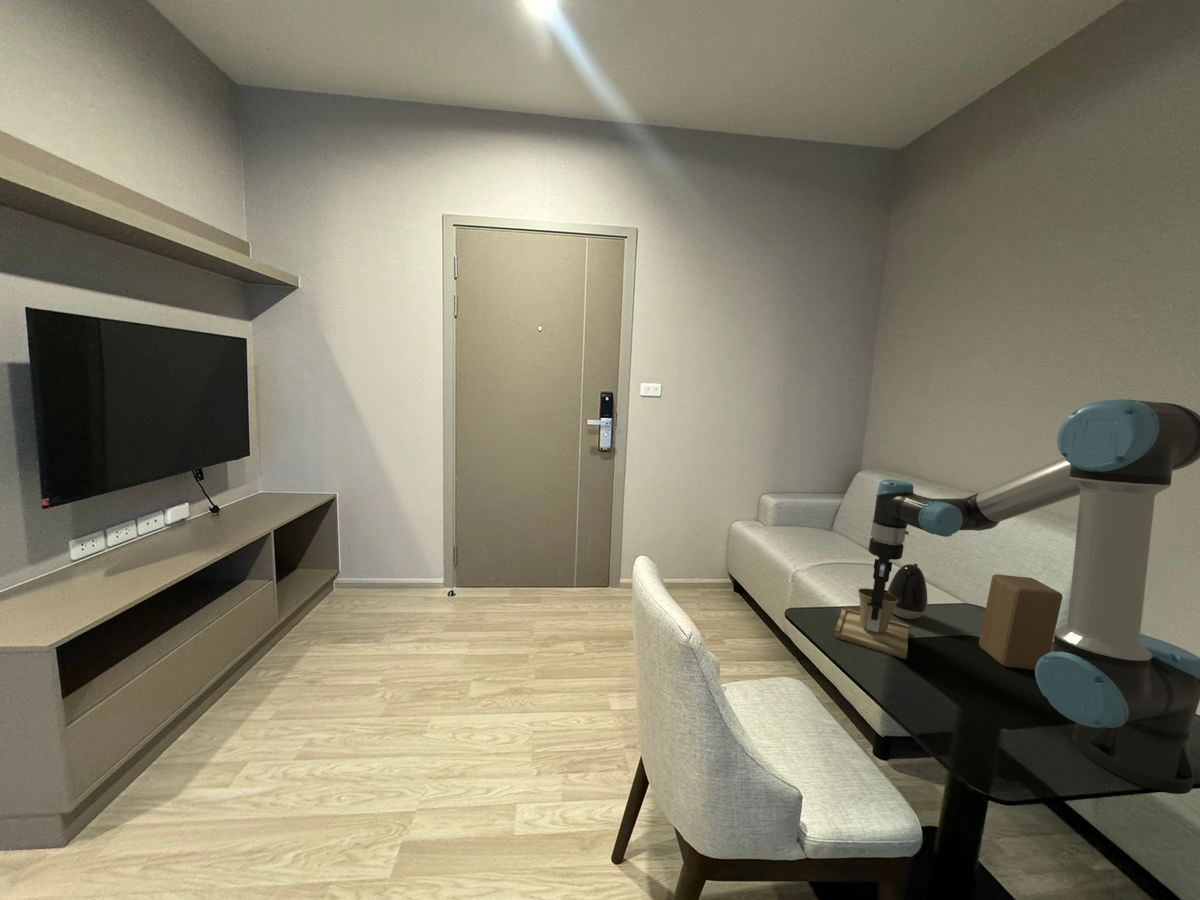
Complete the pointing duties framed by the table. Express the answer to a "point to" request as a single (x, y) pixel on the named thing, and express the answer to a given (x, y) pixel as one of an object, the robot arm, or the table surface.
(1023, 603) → the wooden block
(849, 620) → the board
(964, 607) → the table surface
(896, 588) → the black egg-shaped piece
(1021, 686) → the table surface
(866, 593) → the flower pot
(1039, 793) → the table surface
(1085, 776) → the table surface
